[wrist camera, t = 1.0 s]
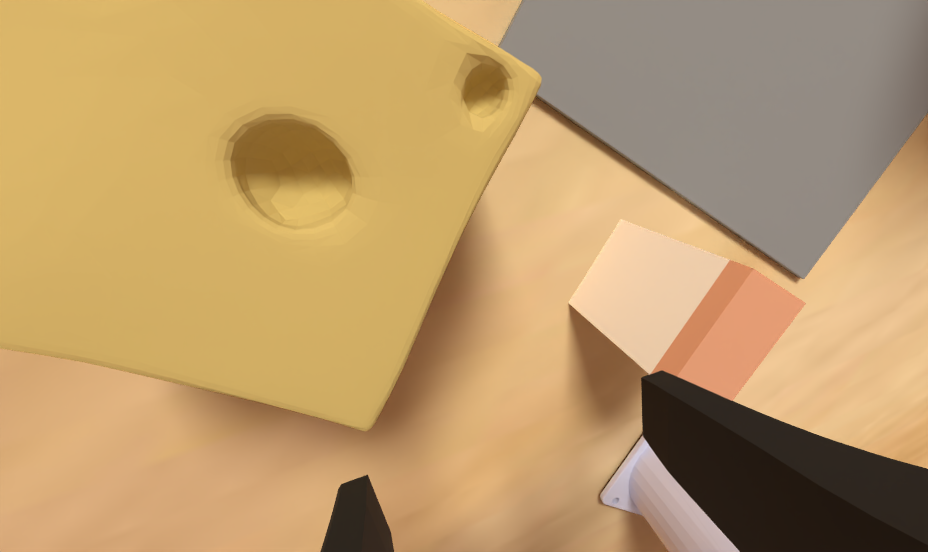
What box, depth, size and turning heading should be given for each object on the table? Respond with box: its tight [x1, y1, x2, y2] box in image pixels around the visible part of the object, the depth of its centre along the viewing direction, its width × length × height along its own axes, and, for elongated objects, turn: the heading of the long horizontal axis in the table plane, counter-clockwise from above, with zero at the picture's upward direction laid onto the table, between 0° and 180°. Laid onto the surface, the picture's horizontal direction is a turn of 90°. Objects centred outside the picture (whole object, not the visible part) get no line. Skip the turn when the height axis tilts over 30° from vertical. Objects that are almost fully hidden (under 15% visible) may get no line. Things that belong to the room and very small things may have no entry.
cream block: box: [568, 220, 806, 401], centre depth 19 cm, size 3×5×8 cm, turn 150°
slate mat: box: [498, 0, 928, 279], centre depth 20 cm, size 22×14×1 cm, turn 60°
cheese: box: [0, 0, 542, 431], centre depth 13 cm, size 10×11×10 cm
